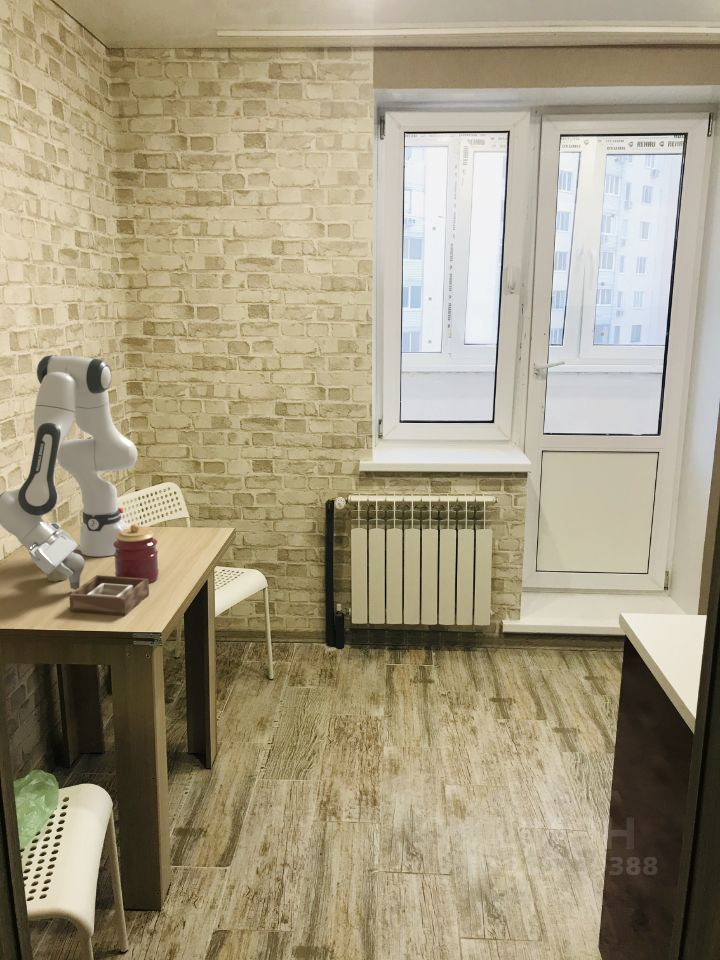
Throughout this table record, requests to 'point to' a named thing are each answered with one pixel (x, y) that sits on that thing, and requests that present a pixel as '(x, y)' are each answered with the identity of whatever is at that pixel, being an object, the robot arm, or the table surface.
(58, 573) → the flower pot
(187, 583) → the table surface
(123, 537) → the canister
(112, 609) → the socket box
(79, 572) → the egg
